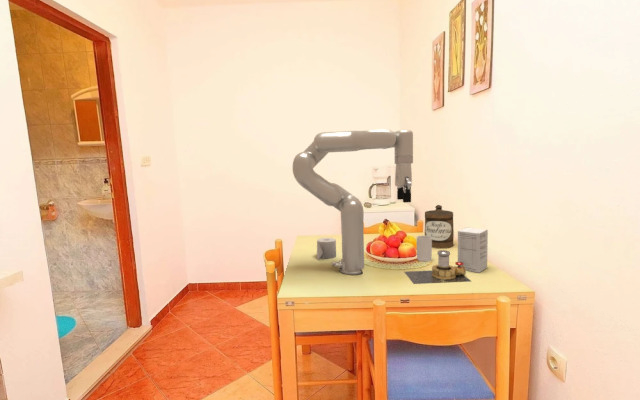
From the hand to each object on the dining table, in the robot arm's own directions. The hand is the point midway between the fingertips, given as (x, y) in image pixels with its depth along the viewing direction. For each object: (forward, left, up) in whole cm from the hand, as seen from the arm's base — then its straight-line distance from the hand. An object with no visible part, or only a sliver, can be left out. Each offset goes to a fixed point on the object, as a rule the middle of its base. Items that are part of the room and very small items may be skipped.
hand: (403, 200), depth 149 cm
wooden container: (+29, +38, -31) cm, 57 cm away
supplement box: (+29, -2, -31) cm, 42 cm away
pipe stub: (+12, -14, -28) cm, 33 cm away
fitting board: (+9, -14, -30) cm, 35 cm away
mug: (+12, +10, -31) cm, 34 cm away
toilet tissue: (-33, +24, -31) cm, 51 cm away
